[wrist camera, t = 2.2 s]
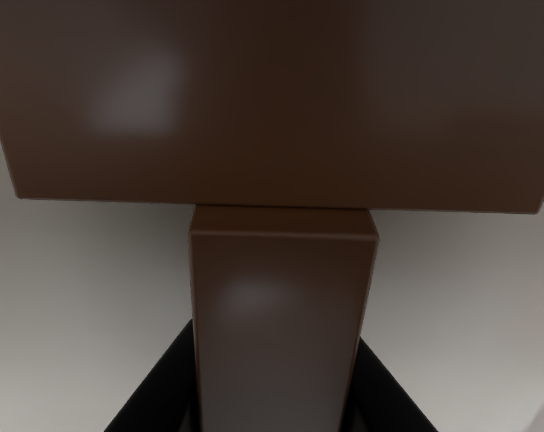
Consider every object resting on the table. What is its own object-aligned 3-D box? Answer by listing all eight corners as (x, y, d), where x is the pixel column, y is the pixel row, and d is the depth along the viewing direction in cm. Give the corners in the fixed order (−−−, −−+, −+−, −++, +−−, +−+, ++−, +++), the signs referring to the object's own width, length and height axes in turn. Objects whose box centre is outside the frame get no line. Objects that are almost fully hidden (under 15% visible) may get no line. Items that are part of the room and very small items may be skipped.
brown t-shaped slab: (384, 396, 13) (425, 547, 10) (137, 393, 13) (95, 548, 10) (545, -211, 6) (839, -361, 3) (32, -245, 6) (-226, -448, 3)
